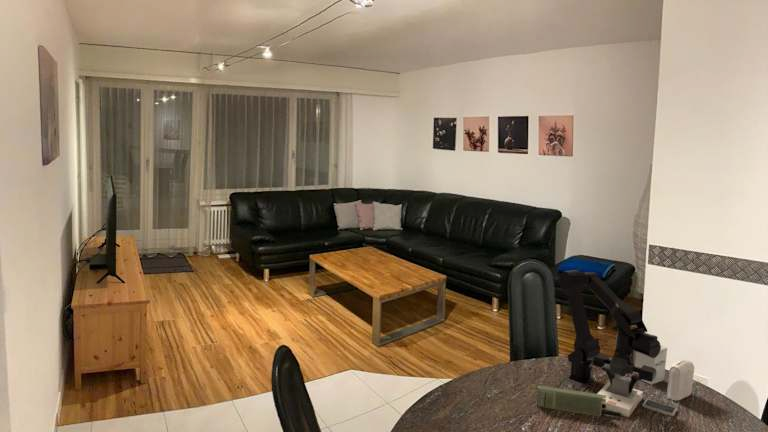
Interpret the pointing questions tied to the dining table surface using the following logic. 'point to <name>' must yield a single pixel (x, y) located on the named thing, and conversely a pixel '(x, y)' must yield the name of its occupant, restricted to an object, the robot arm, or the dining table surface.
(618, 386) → the block
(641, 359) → the supplement box
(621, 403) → the white grey flat device
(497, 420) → the dining table surface
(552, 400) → the handheld radio
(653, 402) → the phone slab
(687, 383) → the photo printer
